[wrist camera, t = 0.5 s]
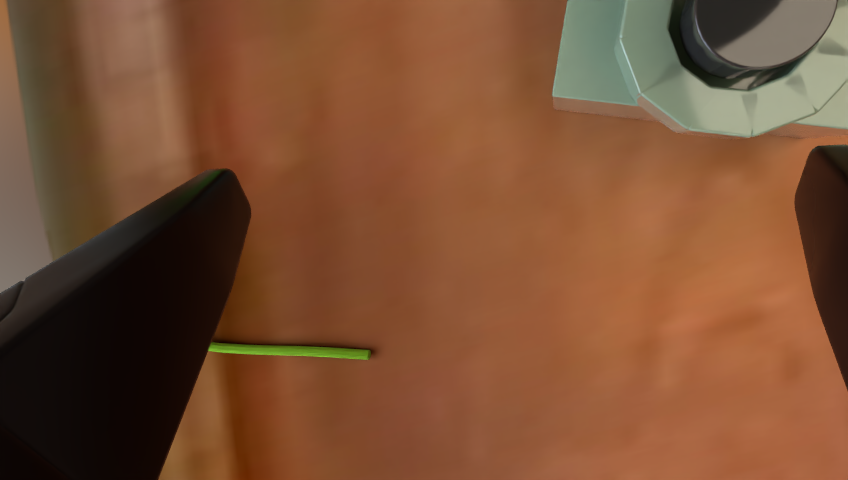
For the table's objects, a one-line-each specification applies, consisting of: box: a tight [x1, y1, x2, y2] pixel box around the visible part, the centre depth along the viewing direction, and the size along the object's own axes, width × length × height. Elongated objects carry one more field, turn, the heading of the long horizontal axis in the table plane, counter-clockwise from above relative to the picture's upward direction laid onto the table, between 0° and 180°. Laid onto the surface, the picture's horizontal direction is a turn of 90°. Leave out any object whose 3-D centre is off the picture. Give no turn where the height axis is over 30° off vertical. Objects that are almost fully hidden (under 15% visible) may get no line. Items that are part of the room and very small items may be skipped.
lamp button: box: [679, 0, 838, 79], centre depth 14 cm, size 3×3×2 cm
